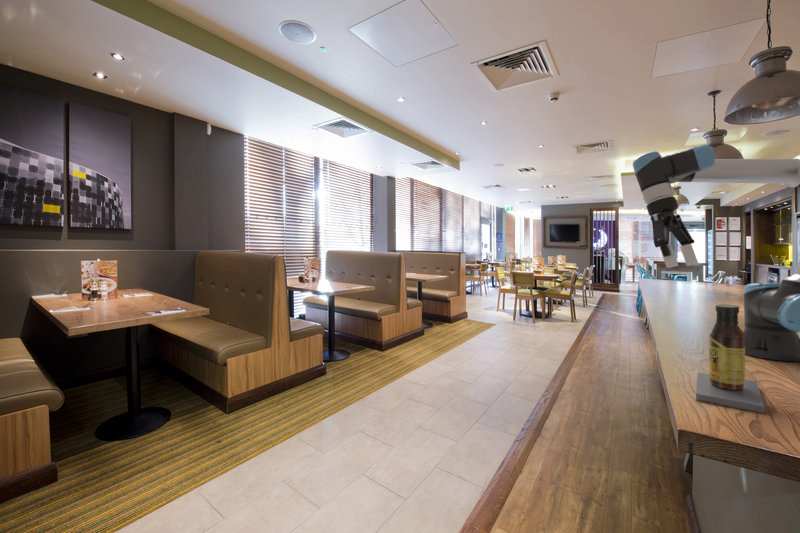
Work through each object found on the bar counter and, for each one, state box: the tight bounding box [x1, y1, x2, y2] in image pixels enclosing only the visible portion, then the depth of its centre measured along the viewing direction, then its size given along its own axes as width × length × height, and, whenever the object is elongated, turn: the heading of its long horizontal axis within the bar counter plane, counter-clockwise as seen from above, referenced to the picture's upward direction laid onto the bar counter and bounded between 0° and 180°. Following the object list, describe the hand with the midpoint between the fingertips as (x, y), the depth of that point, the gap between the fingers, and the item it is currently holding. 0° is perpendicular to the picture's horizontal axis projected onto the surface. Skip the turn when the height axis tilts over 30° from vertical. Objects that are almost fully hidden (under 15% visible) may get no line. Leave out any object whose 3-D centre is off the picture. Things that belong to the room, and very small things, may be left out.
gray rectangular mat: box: [695, 371, 766, 414], centre depth 83 cm, size 18×11×2 cm, turn 138°
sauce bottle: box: [708, 304, 746, 390], centre depth 83 cm, size 6×6×20 cm
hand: (682, 266), depth 103 cm, fingers open, 13 cm apart
